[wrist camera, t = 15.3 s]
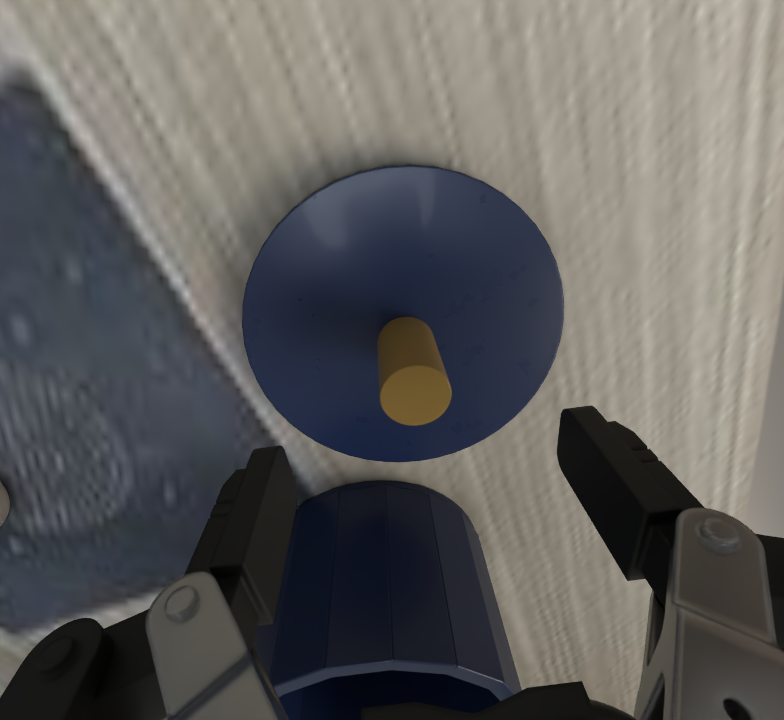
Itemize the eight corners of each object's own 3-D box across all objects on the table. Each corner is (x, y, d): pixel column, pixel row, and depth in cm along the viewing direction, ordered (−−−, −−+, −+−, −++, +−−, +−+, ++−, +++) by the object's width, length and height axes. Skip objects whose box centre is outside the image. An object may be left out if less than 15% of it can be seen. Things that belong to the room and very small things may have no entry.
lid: (615, 303, 19) (705, 359, 14) (421, 484, 24) (435, 573, 19) (372, 72, 14) (374, 27, 9) (194, 359, 19) (132, 434, 14)
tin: (517, 535, 27) (585, 712, 18) (394, 629, 31) (403, 803, 23) (354, 445, 22) (345, 625, 14) (239, 570, 27) (181, 760, 18)
